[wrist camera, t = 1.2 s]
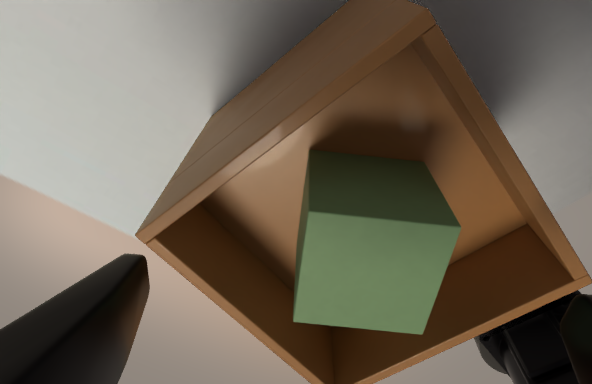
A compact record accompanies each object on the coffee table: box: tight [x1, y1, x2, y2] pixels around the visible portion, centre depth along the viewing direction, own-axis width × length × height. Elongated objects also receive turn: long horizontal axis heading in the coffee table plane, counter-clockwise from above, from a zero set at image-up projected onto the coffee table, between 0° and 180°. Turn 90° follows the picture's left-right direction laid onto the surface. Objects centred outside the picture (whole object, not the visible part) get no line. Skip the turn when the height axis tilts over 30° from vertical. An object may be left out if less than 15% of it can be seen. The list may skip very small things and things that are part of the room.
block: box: [293, 150, 461, 334], centre depth 13 cm, size 4×4×4 cm
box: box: [135, 0, 592, 384], centre depth 16 cm, size 9×9×10 cm
